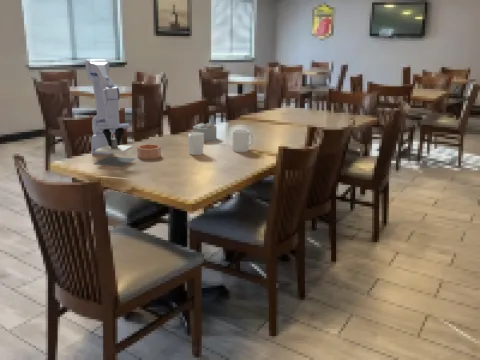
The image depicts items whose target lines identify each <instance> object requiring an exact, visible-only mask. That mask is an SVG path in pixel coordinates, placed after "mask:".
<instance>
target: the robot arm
mask: <svg viewBox="0 0 480 360" xmlns="http://www.w3.org/2000/svg"><path fill="white" fill-rule="evenodd" d="M85 72H86V77H87V79H88V80H91V83H92V88H93V96H94V101H95V102H94V103H95V107H96V108H95V110H96V115H95V116H94V117H93V118H92V120H91V123H92V124H91V128H92V133H93V135H92V136H91V138H90V139H91V140H90V141H91V143H90V144H91V146H90V147H91V154H95V155H96V154H97V155H107V156H108V155H109V156H111V155H112V154H113V153H102V152H95V150H97V149H99V148H101V147H103V146H105V145H108V146H111V139H113V135H114V134H115V137H116V138H115V139H117V140H118V146H119V145H121V142H122V141H121V140H122V136H123V135H124V133H125V130H124V129H131V127H130V123H120V111H119V110H120V109H119V107H120V106H119V101H120V95H121V94H120V89H119V87H118V86H117V85H115V84H114V81H113V79H112V78H111V76H109V72H110V62H109V60H108V59H106V58H105V59H90V58H89V59H88V58H87V59H86V60H85Z"/></svg>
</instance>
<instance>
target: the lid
mask: <svg viewBox="0 0 480 360" xmlns="http://www.w3.org/2000/svg"><path fill="white" fill-rule="evenodd" d="M131 149H133V145H125V144H120V145H119V146H118V140H117V139H116V138H112V139H111V146H108V145H105V146H103V147H101V148H99V149H97V150H95V152H102V153H112V154H116V155H117V154H118V155H122V154H124V153H127V152H128V151H129V150H131Z"/></svg>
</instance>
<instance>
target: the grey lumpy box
mask: <svg viewBox="0 0 480 360" xmlns="http://www.w3.org/2000/svg"><path fill="white" fill-rule="evenodd" d="M192 132H201V133H204V143H205V142H212V141H216V140H217V125H216V124H213V123H210V122H207V123H204V122H200V123H198V124H196V125H193V126H192Z"/></svg>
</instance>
